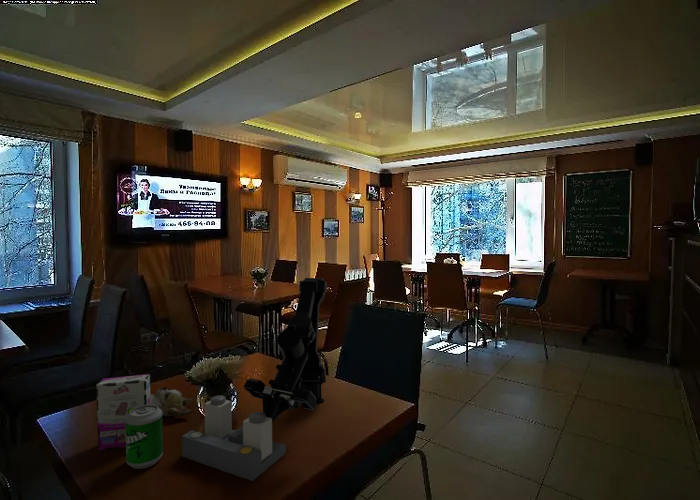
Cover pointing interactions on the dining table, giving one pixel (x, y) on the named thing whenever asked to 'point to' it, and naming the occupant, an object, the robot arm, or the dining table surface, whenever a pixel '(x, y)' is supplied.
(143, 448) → the soda can
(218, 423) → the button
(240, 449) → the switch panel
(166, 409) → the ceramic sculpture
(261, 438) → the button
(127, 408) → the candy bar box
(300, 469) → the dining table surface
